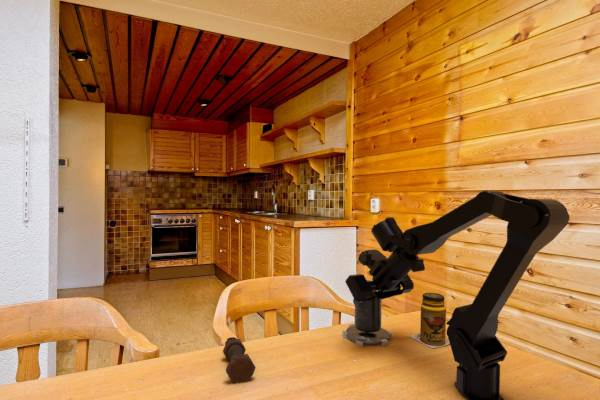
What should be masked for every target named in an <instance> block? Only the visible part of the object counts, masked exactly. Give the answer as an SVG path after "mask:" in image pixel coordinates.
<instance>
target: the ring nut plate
mask: <svg viewBox="0 0 600 400" xmlns="http://www.w3.org/2000/svg"><path fill="white" fill-rule="evenodd" d="M342 338H343V339H347V340H348V341H350V342H353V343H354V344H355V345H356V346H357V347H358V346H359V347H364V346H380V347H385V346H388V345H389V344H388V343H389V340H390V339H393V333H392V331H391V330H386V329H384V328H383V327H381V329H380V330H379V331H377V332H363V331H359V330H358V329H356V327H355V323H352V324H349V325H348V327H347V328H346V330H342Z"/></svg>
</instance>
